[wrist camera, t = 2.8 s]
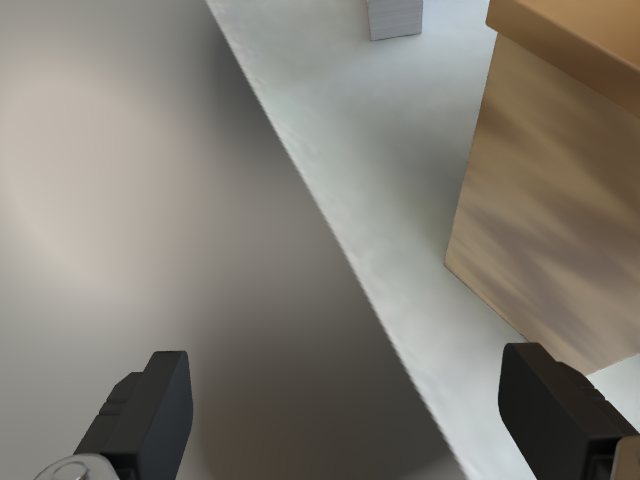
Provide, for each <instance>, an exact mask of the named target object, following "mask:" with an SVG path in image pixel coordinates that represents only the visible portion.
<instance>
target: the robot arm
mask: <svg viewBox="0 0 640 480" xmlns="http://www.w3.org/2000/svg"><path fill="white" fill-rule="evenodd" d="M498 406H499V412H500V416H501V418H502V421H503V423H504V424H505V426H506V428H507V430H508V431H509V433H510V435H511V436H512V438H513V440H514V441H515V443H516V445H517V446H518V448H519V450H520V451H521V453H522V455H523V457H524V458H525V460H526V462H527V463H528V465H529V467H530V468H531V470H532V472H533V473H534V475H535V477H536V478H537V480H640V433H639V432H638V431H637V430H636V429H635V428H634V427H633V426H632V425H631V424H630V423H629V422H628V421H627V420H626V419H625V418H624V417H623V416H622V415H621V414H620V413H619V412H618V411H617V409H616V408H615V407H614V406H613V405H612V404H611V403H610V402H609V401H606V400H605V397H604V396H603V395H602V394H601V393H600V392H599V391H598V390H597V389H595V388H594V386H593V385H592V383H591V382H590V381H589V380H588V379H587V378H586V377H585V376H584V375H583V374H582V373H581V372H579V371H577V370H576V369H574V368H572V367H570V366H569V365H567V364H565V363H564V362H562V361H558V362H557V361H556V360H555V359H554V358H553V357H552V356H551V355H550V354H549V353H548V352H547V351H546V349H545V348H544V347H543V346H542V345H541V344H540V343H538V342H527V343H507V344H506V345H505V347H504V351H503V358H502V366H501V375H500V383H499V392H498ZM192 420H193V401H192V391H191V382H190V371H189V362H188V355H187V353H186V351H157V352H154V353H153V355H152V357H151V358H150V360H149V362H148V364H147V366H146V367H145V369H144V371H143V372H131V373H130V374H129V375H128V376H126V377H125V378H124V379H123V380H121V381H120V382H119V383H118V384H116V385H115V387H114V388H113V390H112V392H111V393H110V395H109V396H108V398H107V401H106V402H105V403H104V404H103V406H102V408H101V409H100V411H99V415H97V416H96V417H95V419H94V421H93V423H92V424H91V426H90V427H89V429H88V431H87V432H86V434H85V436H84V437H83V439H82V440H81V442H80V444H79V445H78V447H77V449H76V450H75V452H74V453H73V455H72V456H69V457H66V458H63V459H61V460H59V461H57V462H55V463H53V464H51V465H50V466H48V467H47V468H45V469H44V470H43V471H42V472H40V473H39V474H38V475H37V476H36V477H35V479H34V480H175V478H176V475H177V472H178V469H179V466H180V463H181V459H182V456H183V453H184V450H185V447H186V444H187V441H188V437H189V434H190V431H191V426H192Z"/></svg>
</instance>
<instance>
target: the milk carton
mask: <svg viewBox="0 0 640 480" xmlns="http://www.w3.org/2000/svg"><path fill="white" fill-rule="evenodd" d="M366 5H367V13H368V20H369V28H370V36H371V41H373V40H379V39H386V38H392V37H398V36H405V35H411V34H418V33H421V32H422V12H423V0H366Z"/></svg>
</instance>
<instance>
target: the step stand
mask: <svg viewBox="0 0 640 480" xmlns="http://www.w3.org/2000/svg"><path fill="white" fill-rule="evenodd" d="M485 23H486V25H487V26H488V27H490V28H492V29H493V30H495V31H497V32H498V33H497V38H496V42H495V46H494V50H493V55H492V59H491V63H490V68H489V72H488V76H487V80H486V85H485V89H484V93H483V98H482V102H481V106H480V111H479V115H478V119H477V123H476V128H475V132H474V136H473V141H472V145H471V149H470V154H469V158H468V162H467V166H466V171H465V175H464V179H463V184H462V188H461V192H460V197H459V201H458V205H457V209H456V214H455V218H454V222H453V227H452V231H451V235H450V240H449V244H448V248H447V252H446V257H445V261H444V266H445V267H447V268H448V269H449V270H450V271H451V272H452V273H453V274H454V275H456V276H457V277H458V278H459V279H460V280H461V281H462V282H463V283H464V284H466V285H467V286H468V287H469V288H470V289H471V290H472V291H473V292H475V293H476V294H477V295H478V296H479V297H480V298H481V299H482V300H483V301H485V302H486V303H487V304H488V305H489V306H490V307H491V308H492V309H494V310H495V311H496V312H497V313H498V314H499V315H500V316H501V317H502V318H504V319H505V320H506V321H507V322H508V323H509V324H510V325H511V326H513V327H514V328H515V329H516V330H517V331H518V332H519V333H520V334H521V335H523V336H524V337H525V338H526V339H527V340H528V341H529V342H538V343H540V344H541V345H542V346H543V347H544V348H545V349H546V351H547V352H548V353H549V354H550V355H551V356H552V357H553V358H554V359H555V360H556V361H557V362H558V361H562V362H564V363H565V364H567V365H569V366H570V367H572V368H574V369H576V370H577V371H579V372H581V373H582V374H583V375H584V376H587V375H589V374H591V373H594V372H596V371H598V370H601V369H603V368H605V367H608V366H610V365H612V364H615V363H617V362H619V361H622V360H624V359H626V358H629V357H631V356H633V355H636V354H638V353H640V0H490V2H489V7H488V12H487V17H486V22H485Z"/></svg>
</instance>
